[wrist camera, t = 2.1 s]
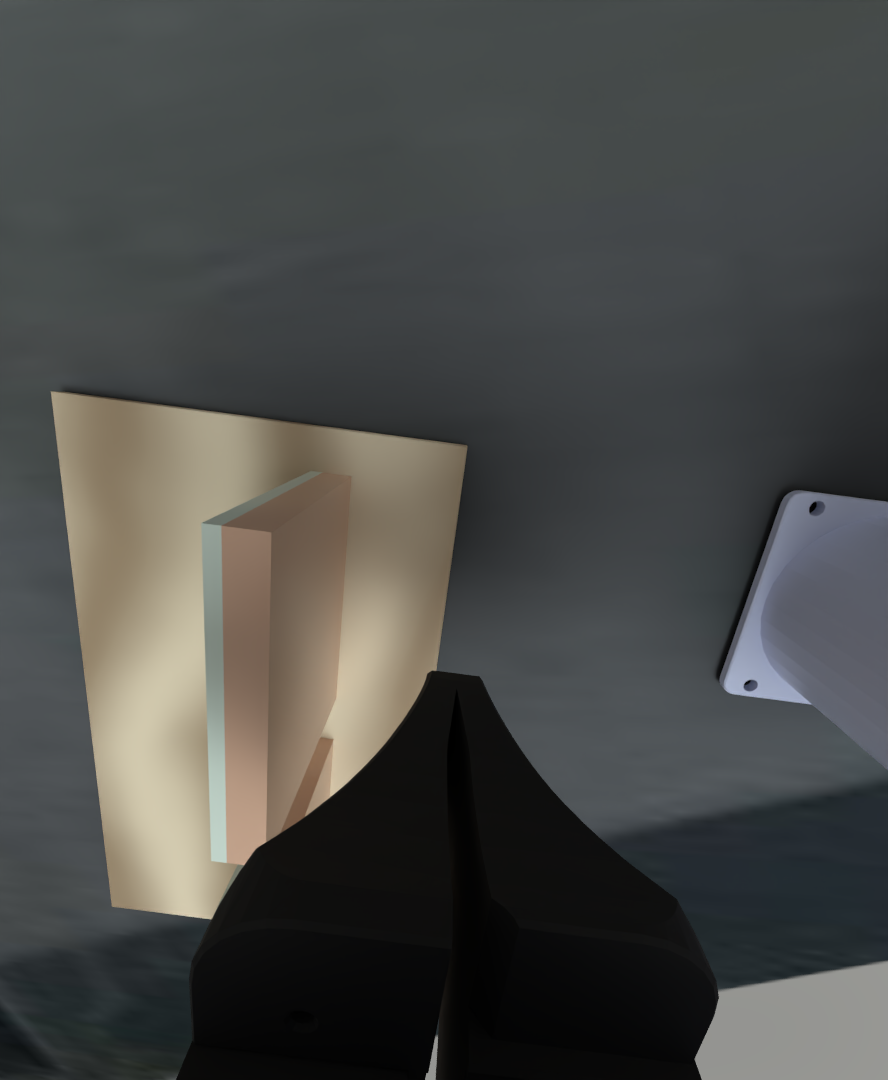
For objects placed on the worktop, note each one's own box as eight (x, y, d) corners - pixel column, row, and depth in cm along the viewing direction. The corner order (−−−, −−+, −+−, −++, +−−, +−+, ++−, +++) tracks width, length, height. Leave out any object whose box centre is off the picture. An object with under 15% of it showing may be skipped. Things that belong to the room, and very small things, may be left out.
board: (467, 445, 16) (467, 446, 15) (399, 929, 23) (397, 943, 22) (65, 391, 16) (50, 391, 15) (120, 893, 23) (112, 906, 22)
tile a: (351, 476, 16) (271, 532, 9) (336, 698, 18) (265, 868, 12) (311, 470, 16) (201, 522, 9) (301, 693, 18) (211, 860, 12)
